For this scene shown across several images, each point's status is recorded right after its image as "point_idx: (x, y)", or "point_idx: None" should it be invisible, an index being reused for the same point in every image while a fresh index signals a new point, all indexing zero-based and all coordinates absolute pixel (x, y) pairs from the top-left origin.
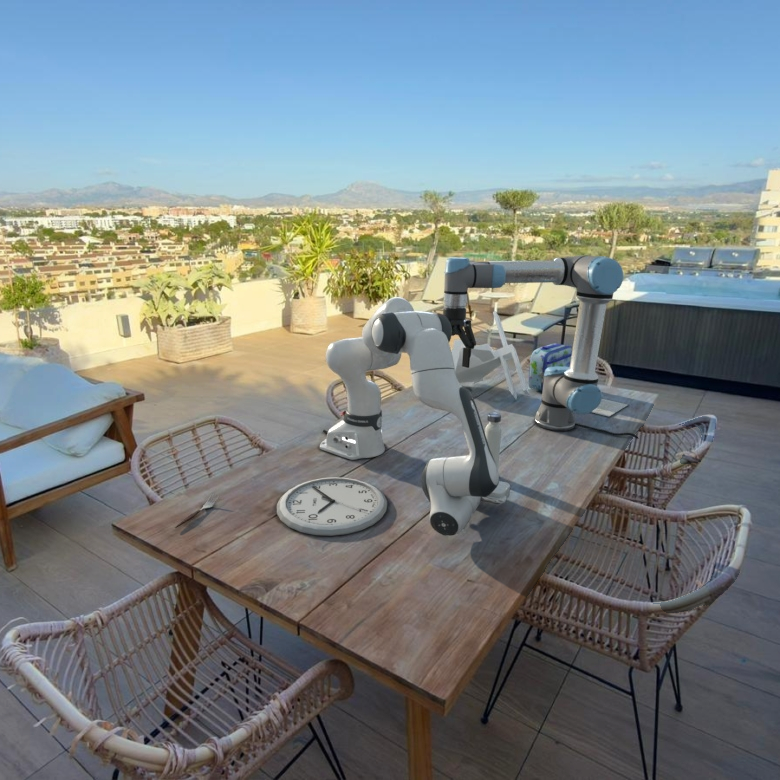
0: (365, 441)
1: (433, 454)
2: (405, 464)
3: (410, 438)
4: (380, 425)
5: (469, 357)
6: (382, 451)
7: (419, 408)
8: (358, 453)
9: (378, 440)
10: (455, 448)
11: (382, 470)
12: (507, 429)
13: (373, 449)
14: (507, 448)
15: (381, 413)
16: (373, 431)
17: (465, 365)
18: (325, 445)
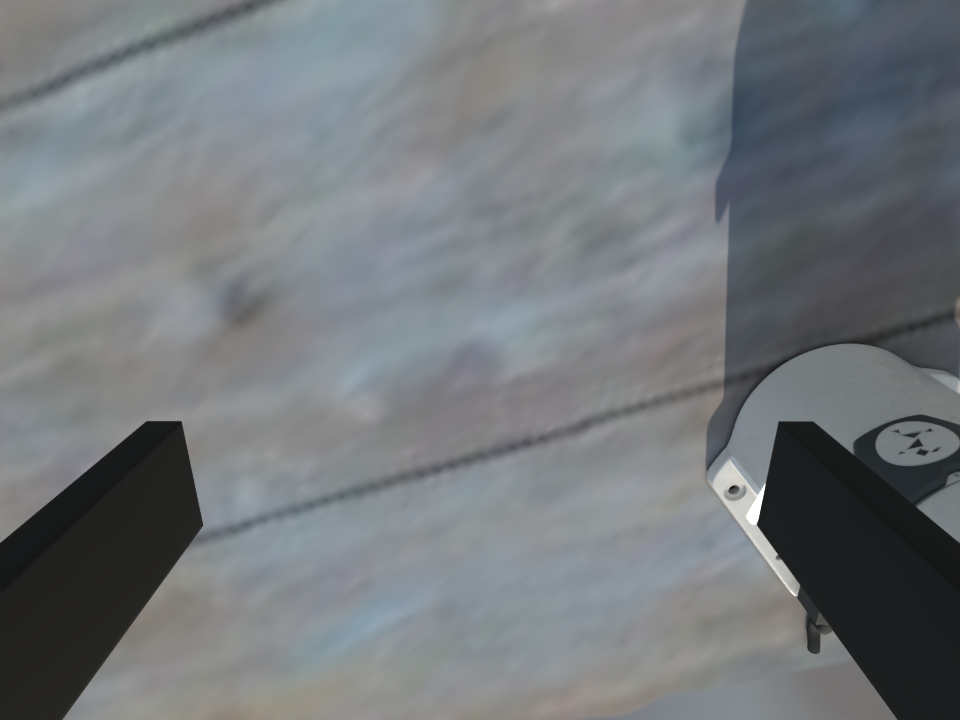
0: (947, 397)
1: (623, 204)
2: (817, 196)
3: (570, 413)
4: (892, 432)
5: (32, 527)
6: (807, 357)
7: (286, 645)
8: (939, 380)
9: (862, 387)
10: (477, 193)
11: (945, 210)
12: (37, 213)
13: (880, 364)
14: (222, 4)
15: (921, 481)
16: (936, 414)
17: (177, 479)
18: None
